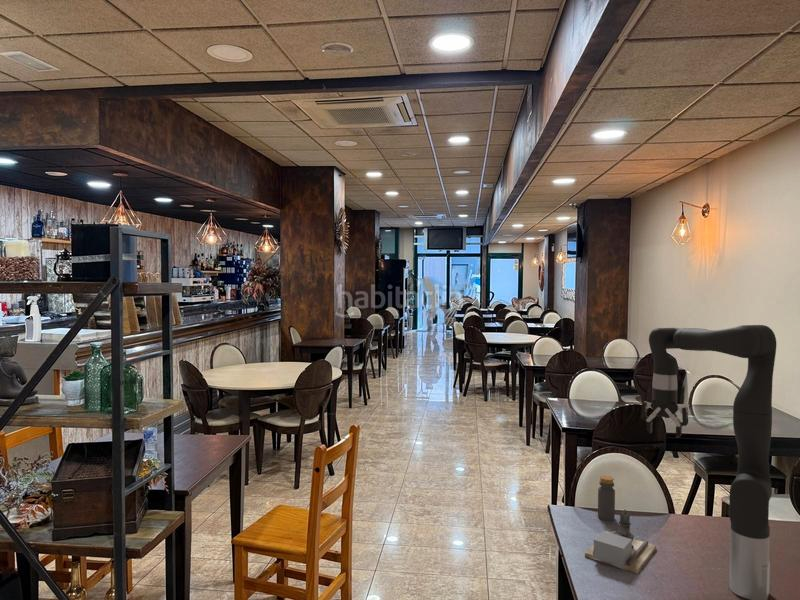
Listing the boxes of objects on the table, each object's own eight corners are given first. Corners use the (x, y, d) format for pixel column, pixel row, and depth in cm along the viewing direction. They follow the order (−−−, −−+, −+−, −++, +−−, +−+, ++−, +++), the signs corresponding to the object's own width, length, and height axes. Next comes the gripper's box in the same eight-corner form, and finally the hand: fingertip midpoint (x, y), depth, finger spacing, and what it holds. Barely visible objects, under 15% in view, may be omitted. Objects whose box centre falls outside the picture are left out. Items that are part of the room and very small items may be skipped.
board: (655, 549, 179) (656, 542, 179) (637, 573, 164) (637, 566, 164) (606, 534, 190) (606, 528, 189) (584, 556, 174) (584, 549, 174)
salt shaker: (635, 550, 176) (636, 513, 175) (616, 548, 177) (617, 512, 176) (632, 542, 181) (632, 506, 181) (613, 540, 182) (613, 504, 182)
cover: (631, 557, 171) (631, 539, 171) (623, 567, 165) (623, 548, 164) (602, 548, 176) (602, 530, 176) (593, 557, 170) (593, 539, 170)
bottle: (600, 512, 208) (601, 473, 207) (616, 517, 204) (617, 477, 204) (595, 517, 203) (596, 477, 203) (611, 522, 199) (612, 481, 199)
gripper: (639, 386, 186) (638, 433, 186) (685, 391, 177) (684, 441, 177) (645, 383, 191) (644, 429, 192) (690, 388, 182) (689, 436, 183)
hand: (663, 435), depth 184 cm, fingers open, 8 cm apart
